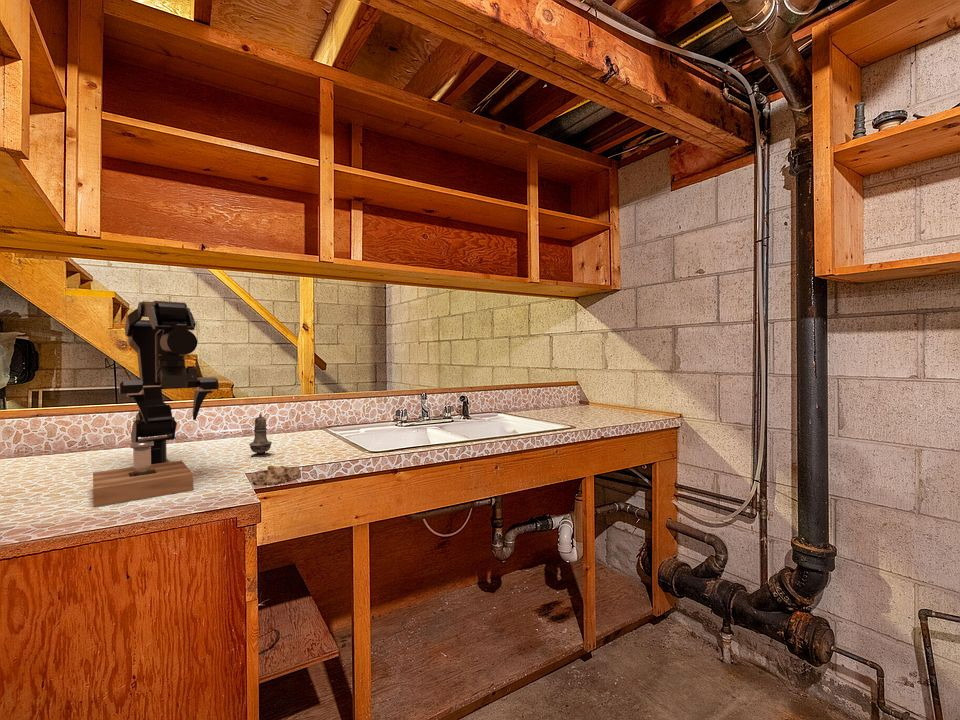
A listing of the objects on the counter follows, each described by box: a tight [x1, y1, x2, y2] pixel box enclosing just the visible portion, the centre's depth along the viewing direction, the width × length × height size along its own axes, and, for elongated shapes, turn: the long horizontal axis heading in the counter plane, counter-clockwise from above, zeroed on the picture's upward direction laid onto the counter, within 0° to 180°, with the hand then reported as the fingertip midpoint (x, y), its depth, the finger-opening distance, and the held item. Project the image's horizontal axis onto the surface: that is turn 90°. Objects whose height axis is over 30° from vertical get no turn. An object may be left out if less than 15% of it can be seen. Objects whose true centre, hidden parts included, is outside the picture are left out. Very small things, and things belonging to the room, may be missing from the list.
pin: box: [129, 441, 154, 476], centre depth 96 cm, size 4×4×10 cm
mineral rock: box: [250, 465, 302, 486], centre depth 102 cm, size 11×4×8 cm
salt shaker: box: [248, 413, 273, 458], centre depth 127 cm, size 6×6×12 cm
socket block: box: [92, 460, 194, 508], centre depth 96 cm, size 16×16×4 cm
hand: (171, 422), depth 105 cm, fingers open, 9 cm apart
